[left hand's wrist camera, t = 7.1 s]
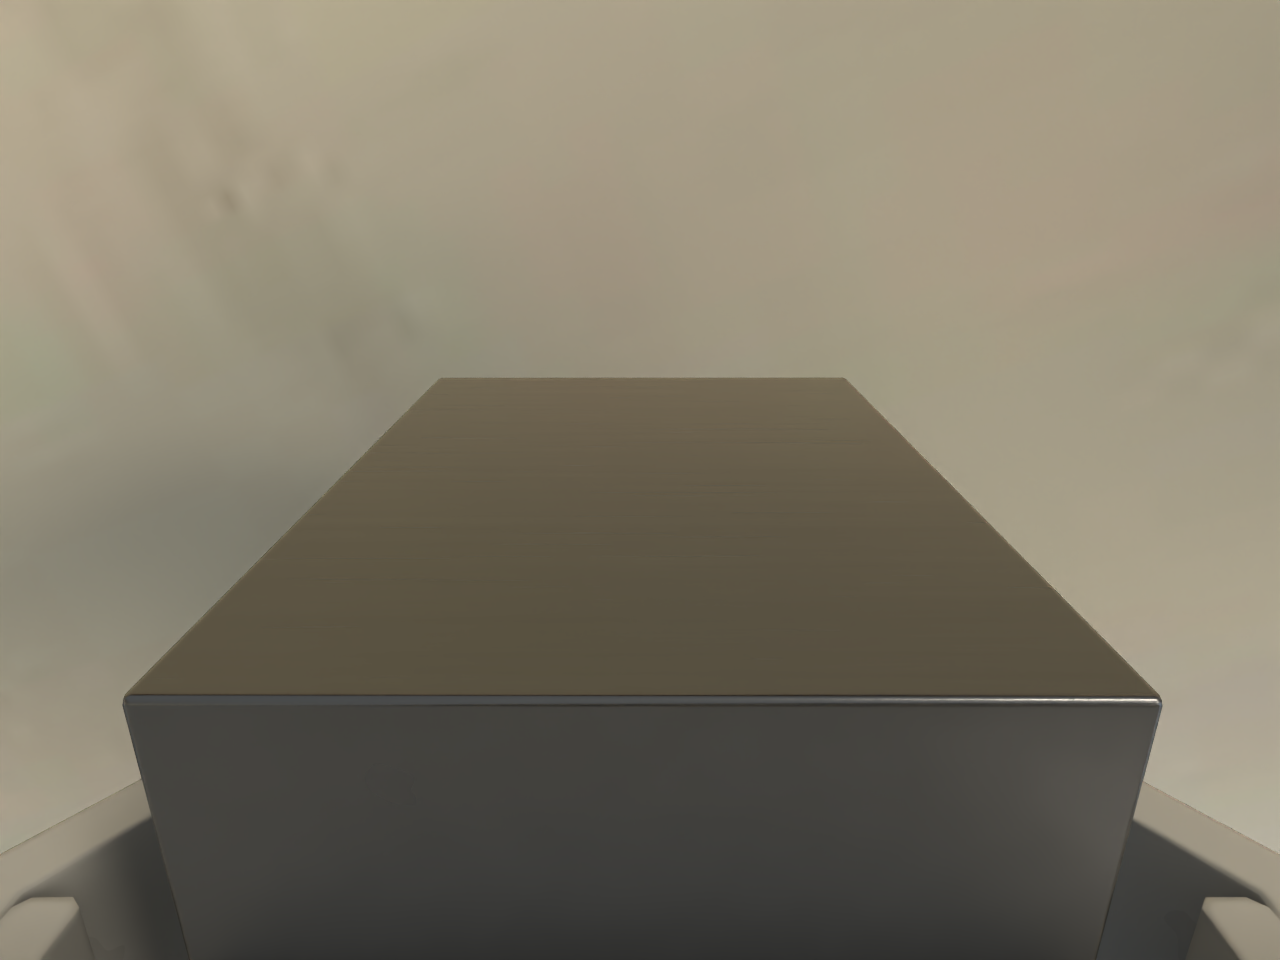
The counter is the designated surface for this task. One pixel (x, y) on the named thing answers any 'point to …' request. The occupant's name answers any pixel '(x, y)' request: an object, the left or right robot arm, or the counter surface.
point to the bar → (642, 700)
